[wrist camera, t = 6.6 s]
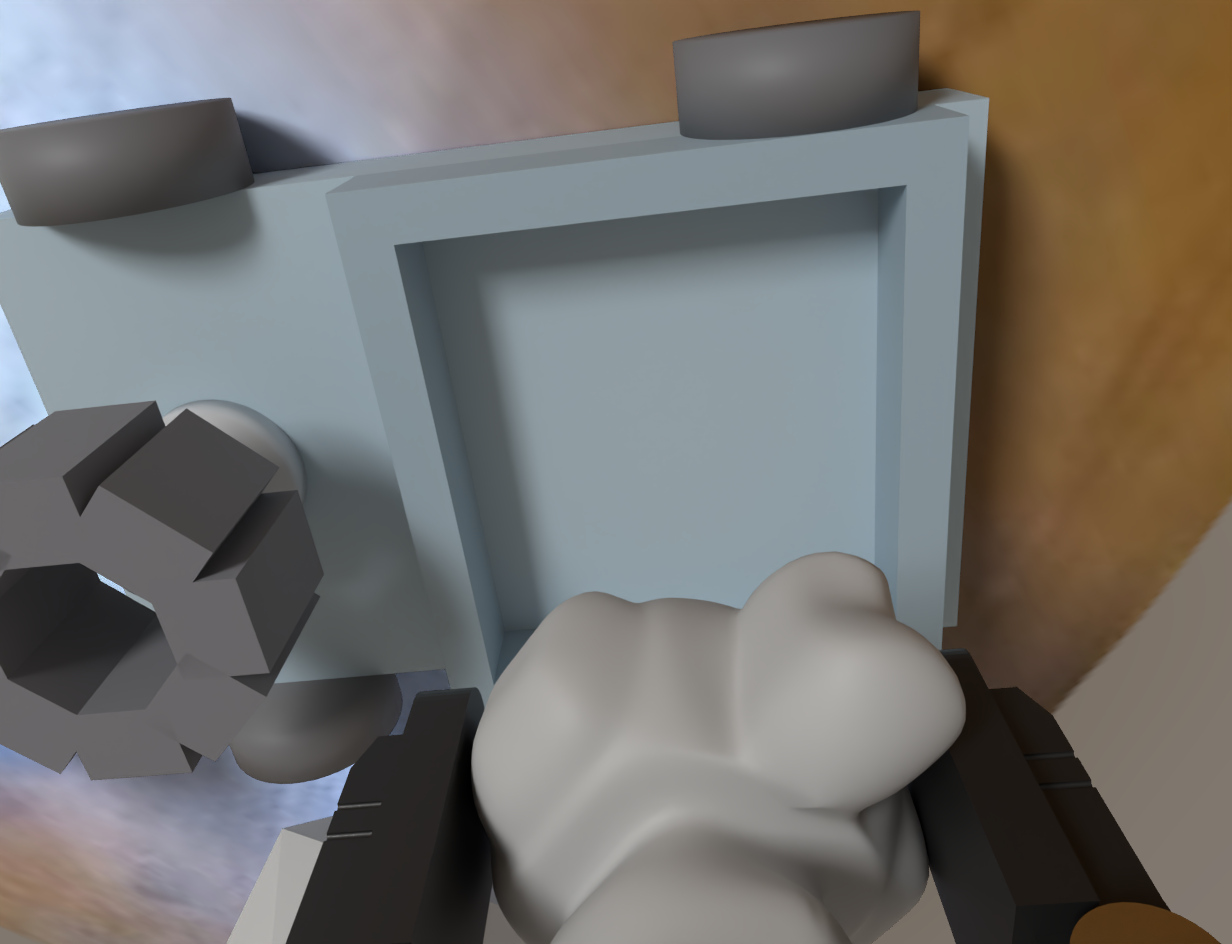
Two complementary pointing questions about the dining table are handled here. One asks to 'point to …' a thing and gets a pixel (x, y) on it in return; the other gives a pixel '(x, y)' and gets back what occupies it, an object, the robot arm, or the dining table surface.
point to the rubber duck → (715, 765)
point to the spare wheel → (142, 589)
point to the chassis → (540, 350)
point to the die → (285, 883)
